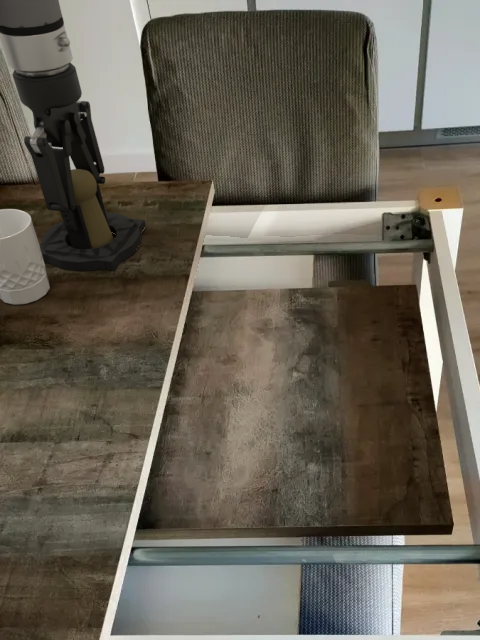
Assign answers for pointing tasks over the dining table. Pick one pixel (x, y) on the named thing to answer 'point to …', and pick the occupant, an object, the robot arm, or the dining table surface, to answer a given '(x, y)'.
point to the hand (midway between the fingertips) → (91, 236)
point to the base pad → (96, 258)
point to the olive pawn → (90, 207)
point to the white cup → (20, 259)
